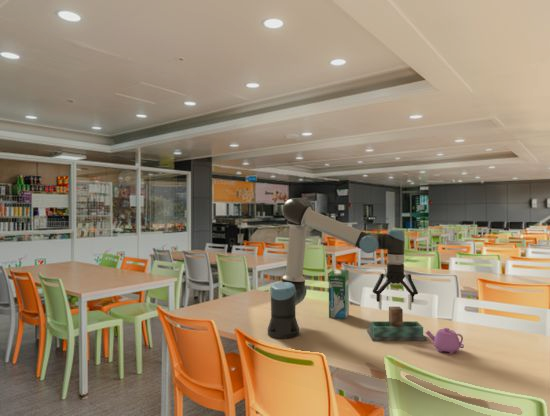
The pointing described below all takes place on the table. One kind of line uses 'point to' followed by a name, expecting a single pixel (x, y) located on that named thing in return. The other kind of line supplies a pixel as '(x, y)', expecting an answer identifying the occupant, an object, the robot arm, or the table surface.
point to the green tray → (396, 331)
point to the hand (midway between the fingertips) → (394, 309)
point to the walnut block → (395, 317)
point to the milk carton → (339, 293)
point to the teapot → (446, 340)
